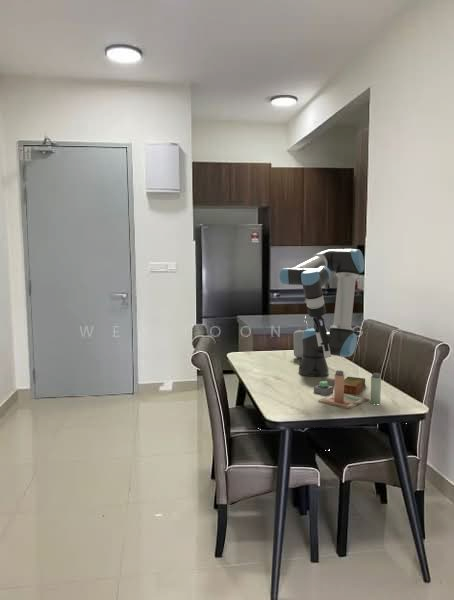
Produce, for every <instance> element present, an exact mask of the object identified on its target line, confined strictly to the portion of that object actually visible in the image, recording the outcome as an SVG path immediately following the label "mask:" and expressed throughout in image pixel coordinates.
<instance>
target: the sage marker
mask: <svg viewBox="0 0 454 600" xmlns="http://www.w3.org/2000/svg"><path fill="white" fill-rule="evenodd" d="M381 388H382V377H381V373H379V372H373V373H372V375H371V377H370V400H369V401H370V405H372V404H375V405H374V406H378V405H377V404H380V405H381Z"/></svg>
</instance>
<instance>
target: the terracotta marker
mask: <svg viewBox="0 0 454 600" xmlns="http://www.w3.org/2000/svg"><path fill="white" fill-rule="evenodd" d="M344 380H345V374H344V371H343V370H336V371H335V374H334V386H333V394H334V401H335V402H338V403H342V402H344Z"/></svg>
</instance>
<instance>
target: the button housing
mask: <svg viewBox="0 0 454 600" xmlns="http://www.w3.org/2000/svg"><path fill="white" fill-rule="evenodd" d="M313 393H315V394H320V395H324V396H326V395H329V394H331V393H334V386H332V385H328V384H327V388H321V387H320V384H318V385H315V386H313Z"/></svg>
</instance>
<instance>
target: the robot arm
mask: <svg viewBox="0 0 454 600" xmlns="http://www.w3.org/2000/svg"><path fill="white" fill-rule="evenodd" d="M364 271H365V259H364V255H363V253H362V250H360V249H358V248H357V249H355V248H344V249H343V248H336V249H335V248H331V249H326V250H323V251H319V252H317V253H315V254H313V255H312V256H311V257H310V259H307V260H306V261H304V262H301V263H300V264H298V265H295V266H293V267H283V268H281V270H280V272H279V281H280V283H281V284H282V285H288V286H290V285H291V286H292V285H293V286H295V285H296V286H302V288H303V289H302V290H303V294H304V299H305V300H304V303H305V304H306V307H307V313H308V314H307V315H308V317H310V318H312V320H313V328H311V329H306V330H304V331H303V338H302V358H301V361H300V364H299V366H298V373H299V374H300V375H303V376H306V377H316V378H317V377H325V376H326V377H327V375H329V374H330V373H329V367H328V362H327V360H326V359H327V358H332V356H336V357H341V358H343V357H346V358H347V357H351V356H353V355H354V353H355V351H356V348H357V345H358V344H357V343H358V335H357V334H356V333H354V332H355V331H354V328H353V327H352V322H353V321H352V320H353V310H354V309H353V308H354V298H355V290H356V282H357V281H356V280H357V279H358V278H359V277H360V273H361V274H362V273H363V272H364ZM332 272H333V273H334V272H335V276H336V277H337V286H336V297H335V307H334V316H333V324H332V325H331V326H330V327H329V331H328V330H327V329H326V324H325V319H324V317H323V316H324V315H326V314H327V310H326V305H325V299H324V294H323V288H322V287H324V286H325V285H326V284H327V283H328V282H329V281H330V279H331V278H332Z"/></svg>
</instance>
